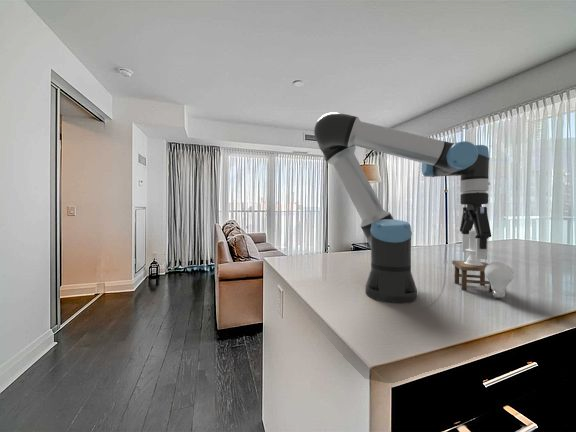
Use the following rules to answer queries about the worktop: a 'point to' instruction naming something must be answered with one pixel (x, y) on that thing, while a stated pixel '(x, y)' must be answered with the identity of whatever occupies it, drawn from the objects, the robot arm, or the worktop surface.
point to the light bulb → (499, 278)
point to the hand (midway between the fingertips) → (473, 255)
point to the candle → (472, 250)
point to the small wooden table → (465, 268)
